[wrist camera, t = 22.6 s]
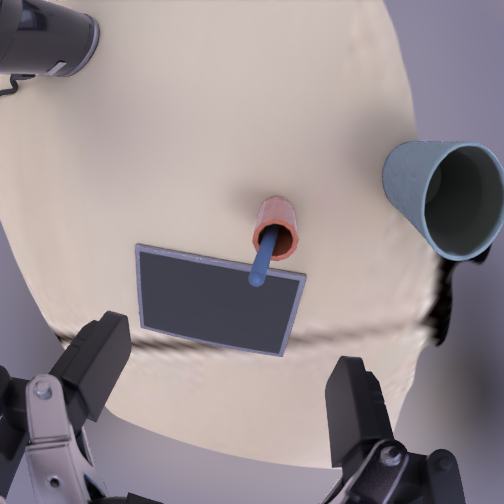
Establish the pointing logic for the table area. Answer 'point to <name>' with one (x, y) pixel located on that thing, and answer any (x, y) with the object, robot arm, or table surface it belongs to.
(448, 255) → the blue-grey tapered bin
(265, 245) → the stylus
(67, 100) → the table surface
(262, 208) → the pen pot
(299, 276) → the tablet
